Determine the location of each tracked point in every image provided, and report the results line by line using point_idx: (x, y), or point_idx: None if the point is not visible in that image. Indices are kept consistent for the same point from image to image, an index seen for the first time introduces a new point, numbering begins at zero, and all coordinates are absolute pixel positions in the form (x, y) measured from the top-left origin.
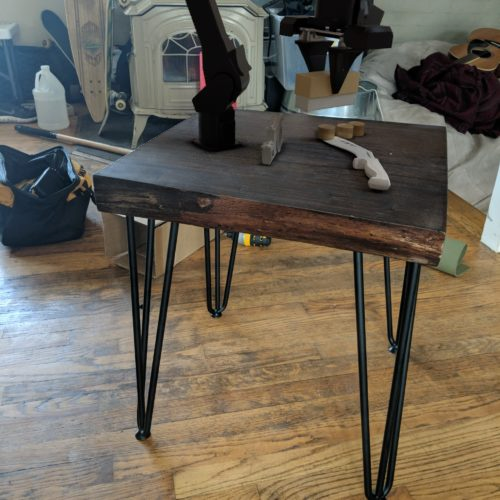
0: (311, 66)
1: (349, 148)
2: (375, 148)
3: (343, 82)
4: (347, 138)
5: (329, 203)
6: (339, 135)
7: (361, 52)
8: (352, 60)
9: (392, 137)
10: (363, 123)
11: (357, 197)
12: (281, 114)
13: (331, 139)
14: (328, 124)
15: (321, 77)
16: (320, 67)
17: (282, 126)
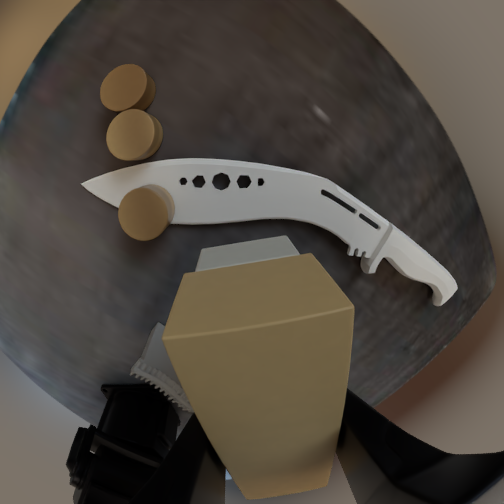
0: (224, 495)
1: (271, 208)
2: (267, 116)
3: (355, 396)
4: (162, 138)
5: (417, 357)
6: (145, 157)
7: (485, 458)
8: (432, 458)
9: (202, 20)
10: (132, 68)
11: (429, 321)
12: (144, 373)
13: None
14: (126, 199)
15: (329, 470)
16: (212, 472)
17: (160, 356)
